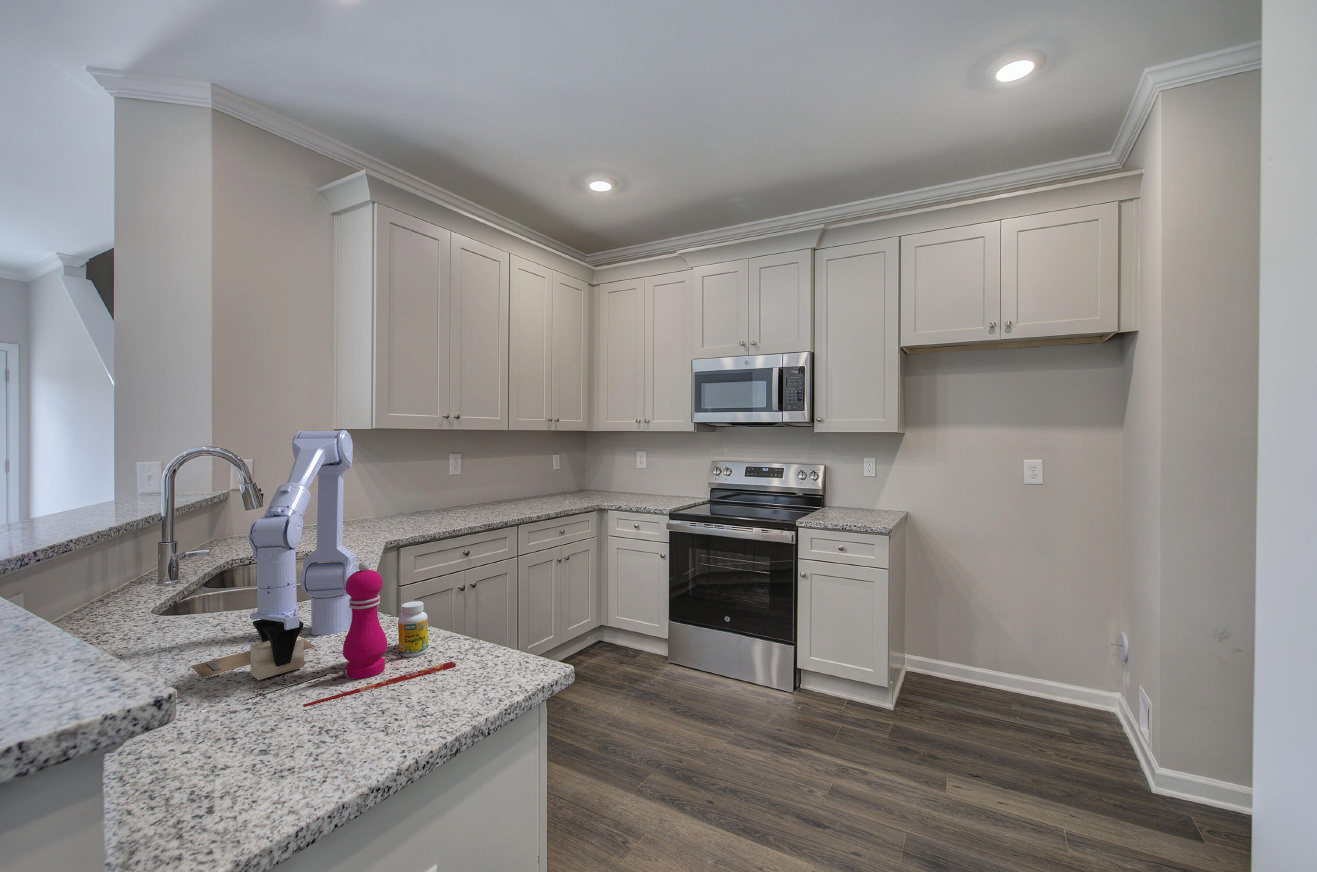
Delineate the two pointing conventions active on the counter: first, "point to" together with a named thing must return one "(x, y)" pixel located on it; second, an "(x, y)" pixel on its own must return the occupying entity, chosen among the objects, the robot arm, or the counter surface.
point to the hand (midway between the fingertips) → (278, 661)
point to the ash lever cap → (265, 662)
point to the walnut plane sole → (229, 663)
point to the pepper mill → (364, 625)
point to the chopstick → (390, 681)
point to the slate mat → (286, 687)
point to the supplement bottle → (413, 629)
